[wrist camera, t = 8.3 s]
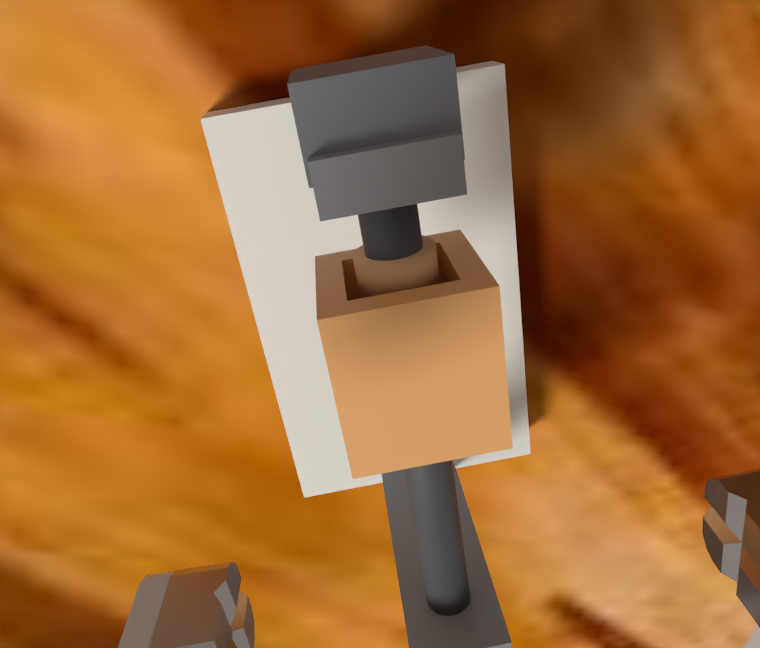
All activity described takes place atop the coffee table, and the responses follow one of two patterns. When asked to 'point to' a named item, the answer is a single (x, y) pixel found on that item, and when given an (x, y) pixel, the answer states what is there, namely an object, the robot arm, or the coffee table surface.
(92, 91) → the coffee table surface
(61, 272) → the coffee table surface
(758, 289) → the coffee table surface
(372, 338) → the marker sleeve
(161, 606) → the robot arm
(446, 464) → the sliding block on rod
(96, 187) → the coffee table surface
